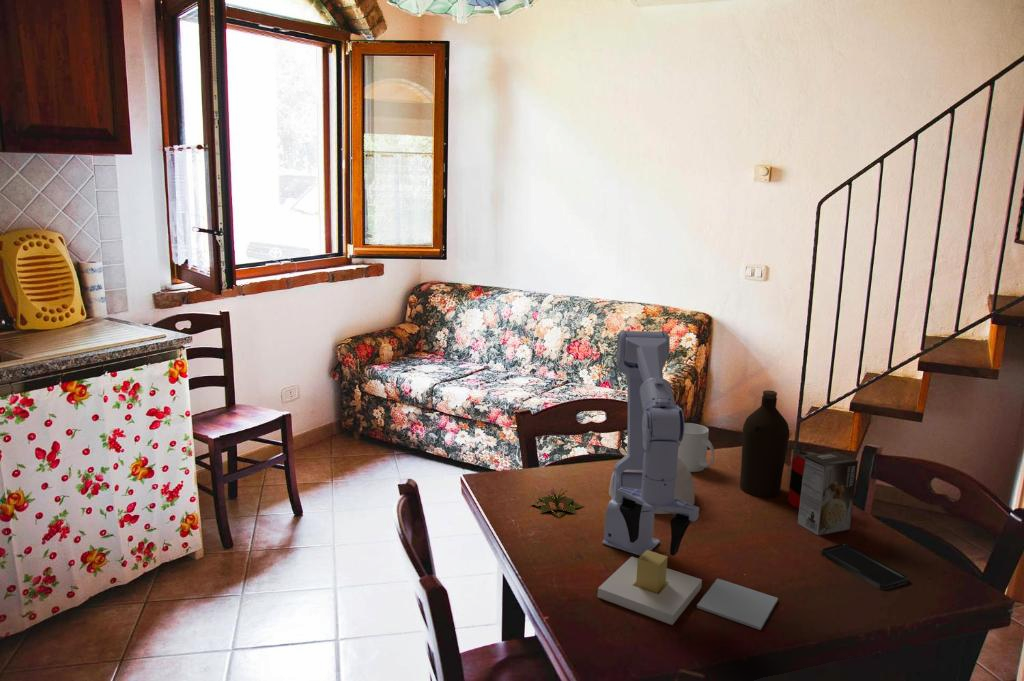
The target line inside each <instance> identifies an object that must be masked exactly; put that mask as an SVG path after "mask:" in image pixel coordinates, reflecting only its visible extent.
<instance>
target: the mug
mask: <svg viewBox="0 0 1024 681" xmlns="http://www.w3.org/2000/svg"><path fill="white" fill-rule="evenodd" d="M684 424H685V427H684V436H683V440H682V441H681V442H680V441H679V440H678V441H679V442H680V446H679V447H678V458H679V459H681V460H682V461H683V462H684V464H685V465H686V466H687V468H688V469H689V471H690V473H698V472H702V471H704V469H706V468H709V467H711V466H712V464H713V463H714V460H715V447H714V446H713V444H712V442H711V441H710V440H709V434H710V433H709V430H710V429H709V428H708V427H706V426H704V425H701V424H697V423H691V422H684ZM708 448H709V449H710V451H711V454H712V458H711V461H709V462H707V454H708Z"/></svg>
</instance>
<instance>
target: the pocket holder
mask: <svg viewBox="0 0 1024 681" xmlns="http://www.w3.org/2000/svg"><path fill="white" fill-rule="evenodd" d="M638 558H639V557H638ZM638 558H637V557H634V556H631V557H629V558H628V559H627V560H626V561H625V562H624V563H623V564H622V565H621V566H620V567H618V568H617V569H616V571H614V572H613V573H612V574H611V575H610V576H609V577H608V578H607V579H606V580H605V581H603V582H602V583H601V585H599V587H598V588H597V598H598V599H602V600H604V601H606V602H610V603H612V604H615V605H618V606H621V607H622V608H625V609H628V610H630V611H634V612H636V613H639V614H641V615H645V616H647V617H649V618H652V619H654V620H657V621H660V622H663V623H666V624H667V625H671V626H673V625H674V624H675V623H676V621H677V619H679V617H680V616H681V615H682V613H683V612H684V611H685V610H686V608H687V607H688V606H689V605H690V604H691V602H692V600H694V599H695V597H696V596H697V595H698V593H699V592H700V591H701V590H702V585H703V583H702V582H703V579H701V578H698V577H695V576H692V575H689V574H687V573H682V572H680V571H676V570H673V569H670V568H668V567H667V572H666V584H665V588H664V589H663V590H662V591H661V592H660V593H659V594H655V593H653V592H650V591H647V590H644V589H641V588H639V587H636V578H637V564H638ZM700 589H701V590H700Z"/></svg>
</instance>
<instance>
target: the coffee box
mask: <svg viewBox="0 0 1024 681" xmlns="http://www.w3.org/2000/svg"><path fill="white" fill-rule="evenodd" d="M858 465H859V460H856V459H854V458H851V456H847V455H845V454H843V453H840V452H838V451H830V452H824V453H817V454H815V455H808V456H805V461H804V470H803V479H802V488H801V497H800V507H799V508H798V516H797V517H798V518H797V524H798V525H799V526H801V527H803V528H805V529H806V530H808V531H810V532H811V533H814V534H815V535H817V536H823V535H827V534H832V533H834V534H835V533H837V532H838V533H839V532H843V531H849V530H850V529H851V522H852V514H853V506H854V497H855V488H856V482H857V481H856V480H857V473H858Z"/></svg>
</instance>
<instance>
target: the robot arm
mask: <svg viewBox="0 0 1024 681" xmlns="http://www.w3.org/2000/svg"><path fill="white" fill-rule="evenodd" d="M669 355H670V336H669V334H668V333H667V331H666V330H663V331H642V330H637V331H636V330H625V329H621V330H620V331H619V332H618V334H617V340H616V367H617V371H618V372H619V373H621V374H622V375H623V374H624V376H625V378H626V384H627V454H628V455H627V454H626V455H627V456H626V455H625V456H626V457H625V456H623V457H622V458H623V459H622V458H621V459H619V461H617V462H616V463H615V464H614V467H613V471H614V475H613V484H612V490H613V498H611V499H610V500H609V502H608V504H607V507H606V511H605V515H604V518H605V519H604V530H603V531H604V532H603V533H604V535H603V540H602V541H601V542H602V544H603V545H606V546H609V547H612V548H615V549H619V550H621V551H624V552H628V553H631V554H634V555H635V556H636V555H637V556H639V557H640V556H641V555H642V554H643V553H644V552H645V551H646V550H649V551H653V549H654V548H655V547H657V545H658V544H659V543H660V541H661V540H660V539H658V538H654V527H655V526H654V525H655V515H656V514H655V509H656V510H661V511H665V512H668V513H672V515H675V516H674V517H673V518H672V519H671V520H670V521H669V525H670V535H671V537H670V538H671V539H670V548H669V555H671V556H675V555H676V554H678V553H679V549H680V545H681V542H682V539H683V538H684V535H685V533H686V531H687V529H688V528H689V527H690V525H691V523H692V522H695V521H697V520H698V518H699V516H700V514H699V512H700V507H699V506H696V505H694V504H693V505H690V504H688V503H686V502H684V501H682V500H680V499H677V498H675V497H674V493H675V481H676V469H677V457H678V444H679V443H678V440H679V441H680V442H681V441H682V440H683V436H684V427H685V424H684V423H685V415H684V411H683V408H681V407H680V405H679V404H676V402H675V398H674V397H675V396H674V393H673V390H672V385H671V383H670V382H669V381H668V380H667V379H666V378H664V373H663V369H664V368H665V365H666V363H667V360H668V358H669ZM628 469H630V470H643V473H642V472H624V471H625V470H628Z"/></svg>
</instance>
